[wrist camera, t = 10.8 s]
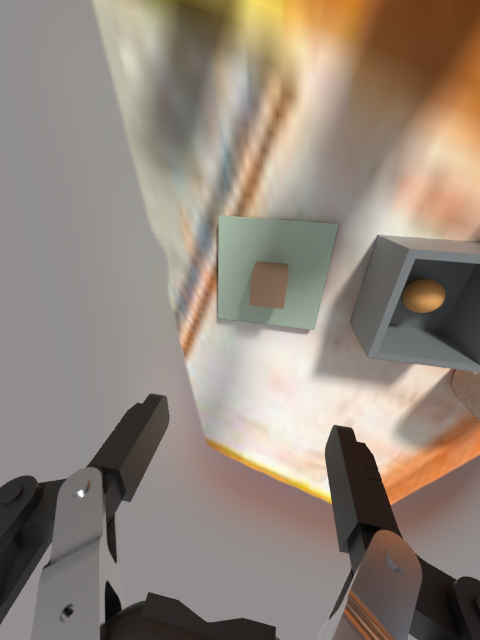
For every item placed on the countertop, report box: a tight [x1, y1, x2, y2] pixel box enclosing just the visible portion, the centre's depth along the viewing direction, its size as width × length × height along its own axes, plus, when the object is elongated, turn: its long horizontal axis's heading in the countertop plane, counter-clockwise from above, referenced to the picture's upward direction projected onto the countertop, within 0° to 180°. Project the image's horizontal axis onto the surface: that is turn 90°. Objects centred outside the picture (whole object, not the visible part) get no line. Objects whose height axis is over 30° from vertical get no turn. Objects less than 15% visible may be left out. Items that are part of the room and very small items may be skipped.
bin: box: [350, 235, 480, 372], centre depth 27 cm, size 12×12×8 cm
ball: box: [402, 279, 445, 313], centre depth 28 cm, size 4×4×4 cm
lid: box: [218, 215, 339, 330], centre depth 30 cm, size 14×14×7 cm
